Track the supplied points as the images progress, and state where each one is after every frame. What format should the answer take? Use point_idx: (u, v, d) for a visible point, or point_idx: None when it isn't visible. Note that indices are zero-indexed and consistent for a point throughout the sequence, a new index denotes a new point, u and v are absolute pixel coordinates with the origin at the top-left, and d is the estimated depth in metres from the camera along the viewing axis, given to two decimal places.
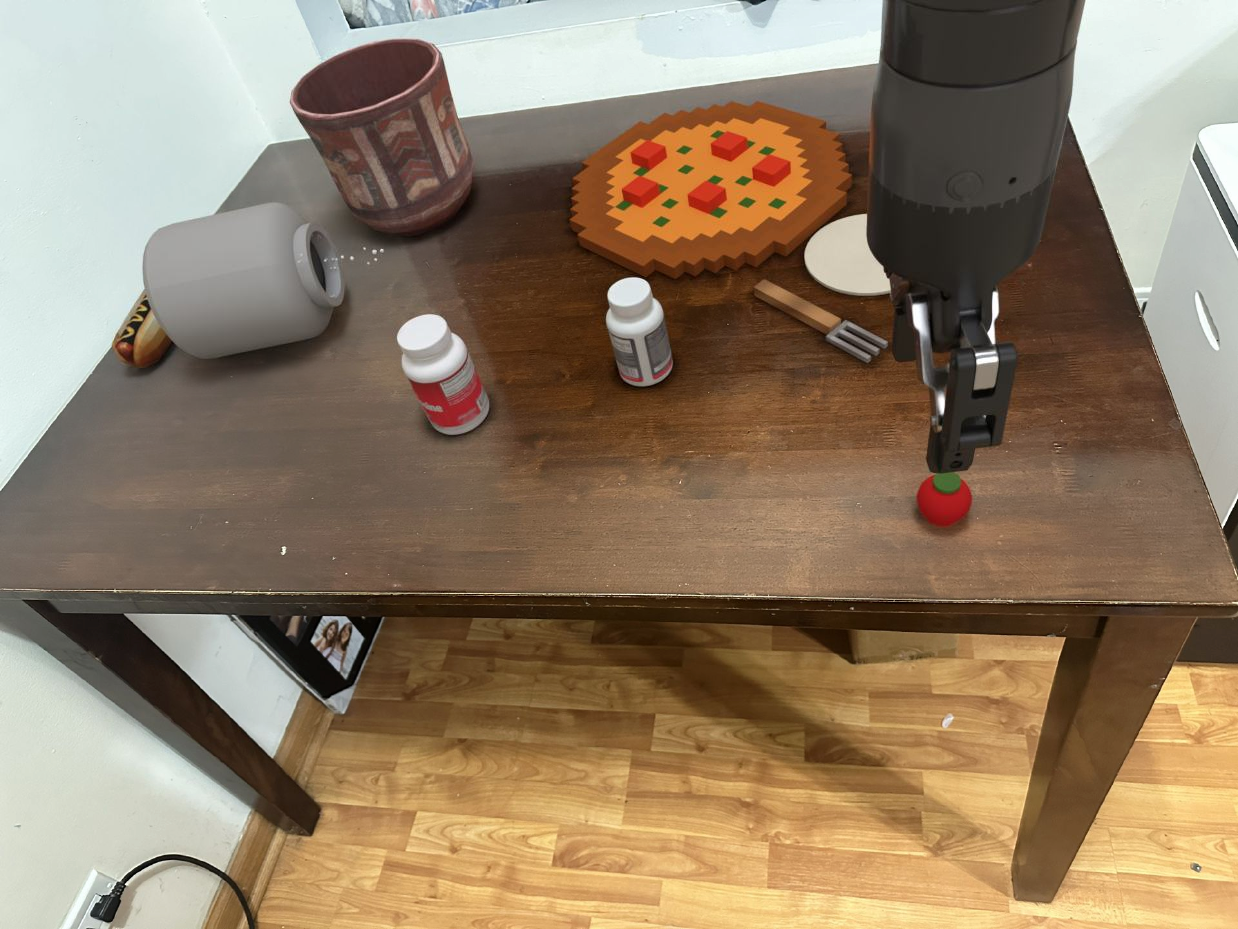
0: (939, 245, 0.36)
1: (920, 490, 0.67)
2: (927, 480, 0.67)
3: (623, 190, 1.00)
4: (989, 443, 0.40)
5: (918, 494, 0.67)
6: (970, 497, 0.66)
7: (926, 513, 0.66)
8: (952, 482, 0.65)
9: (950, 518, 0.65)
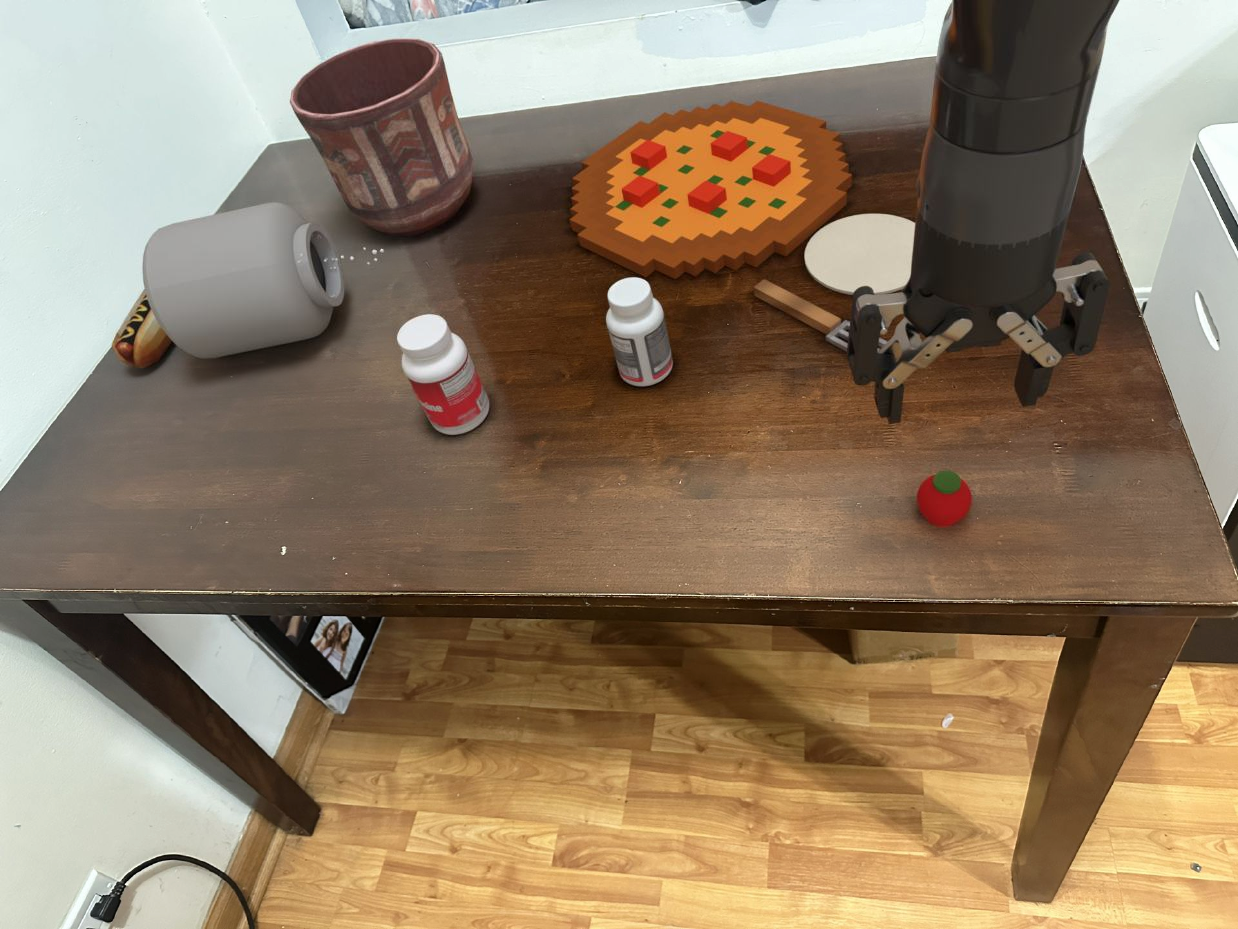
0: None
1: (920, 490, 0.67)
2: (927, 480, 0.67)
3: (623, 190, 1.00)
4: (852, 374, 0.54)
5: (918, 494, 0.67)
6: (970, 497, 0.66)
7: (926, 513, 0.66)
8: (952, 482, 0.65)
9: (950, 518, 0.65)
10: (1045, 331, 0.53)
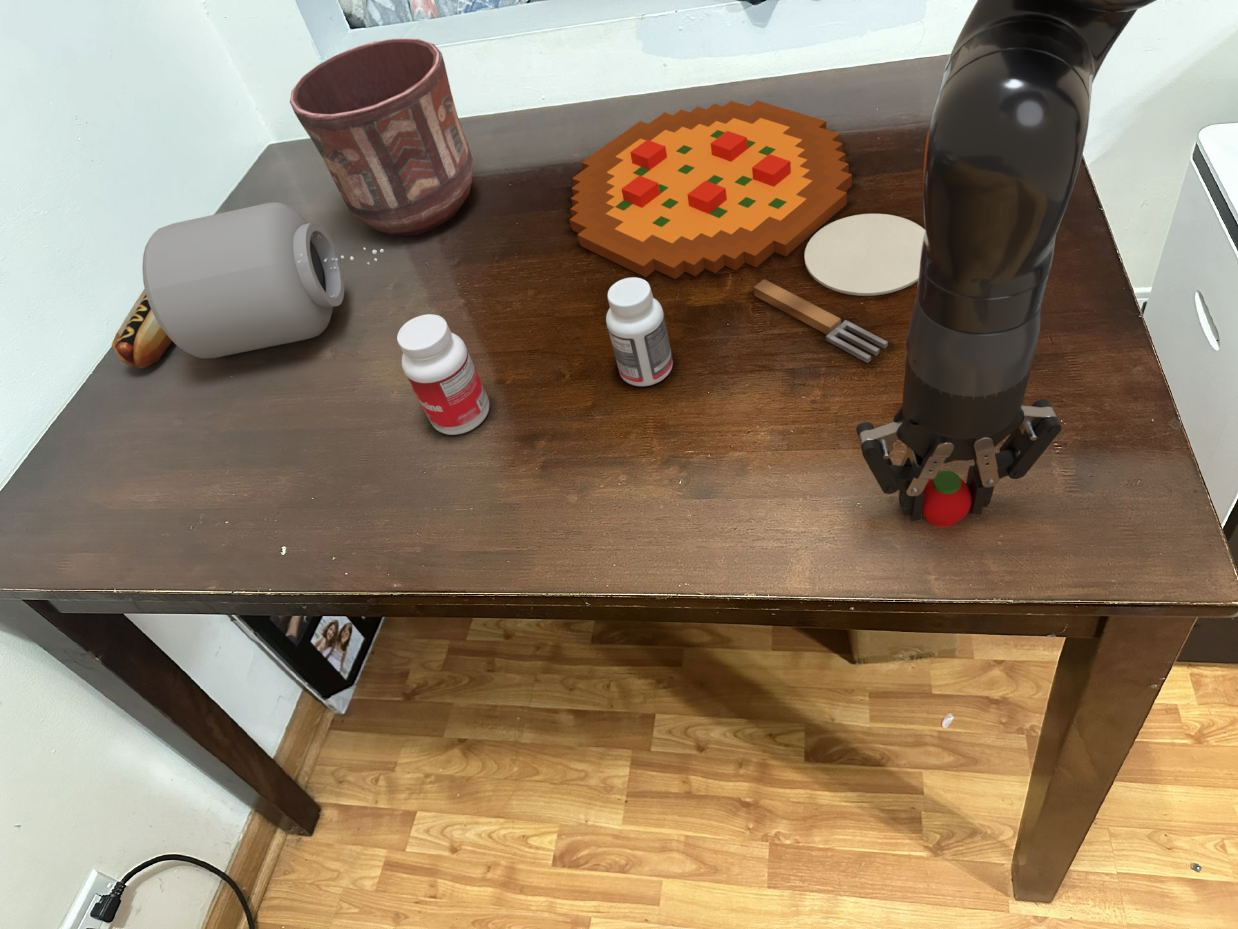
0: None
1: None
2: None
3: (623, 190, 1.00)
4: None
5: None
6: (970, 497, 0.66)
7: (926, 513, 0.66)
8: (952, 482, 0.65)
9: (950, 518, 0.65)
10: None
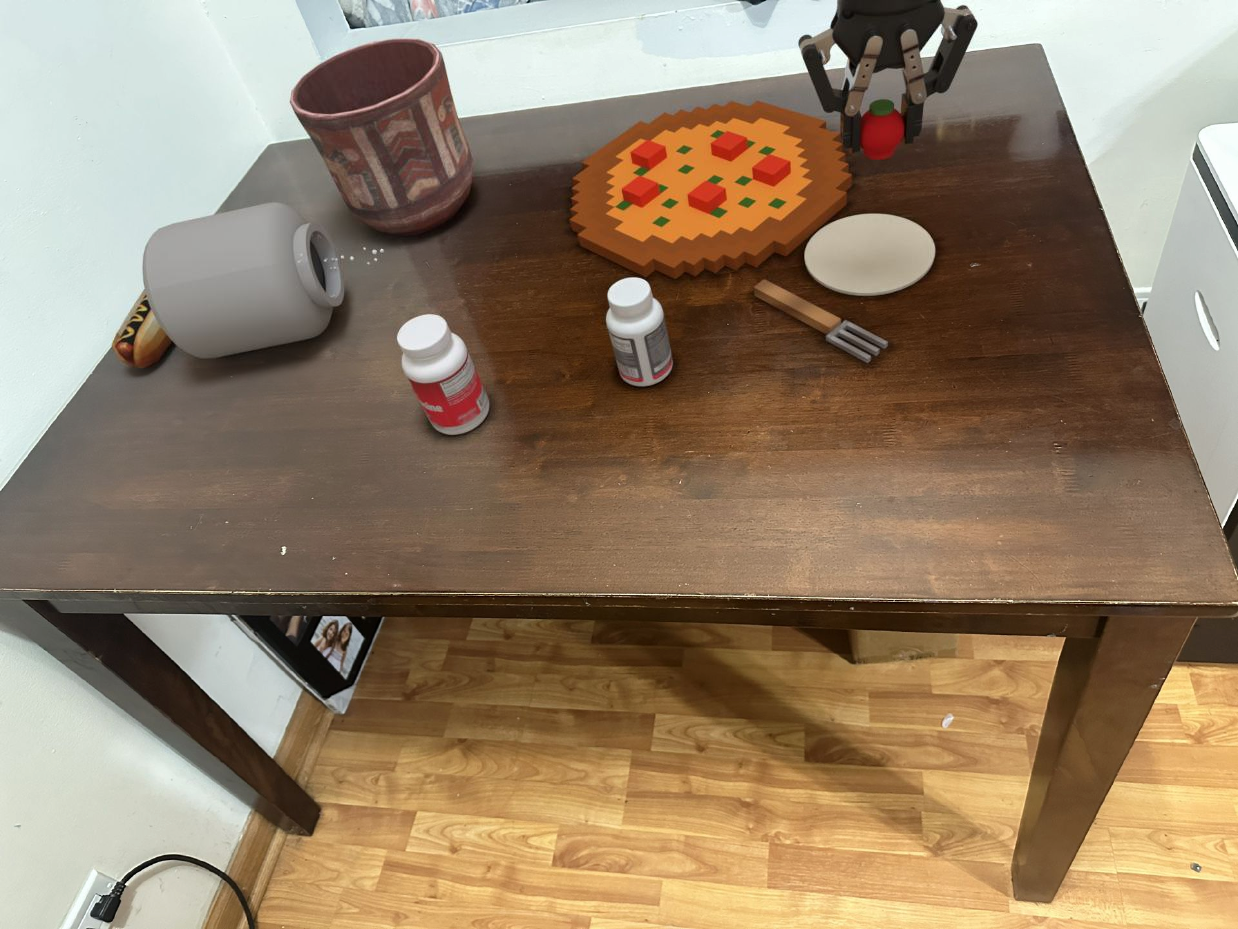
0: None
1: None
2: (865, 112, 0.74)
3: (623, 190, 1.00)
4: None
5: None
6: (903, 122, 0.73)
7: (863, 141, 0.74)
8: (886, 106, 0.72)
9: (885, 141, 0.73)
10: None
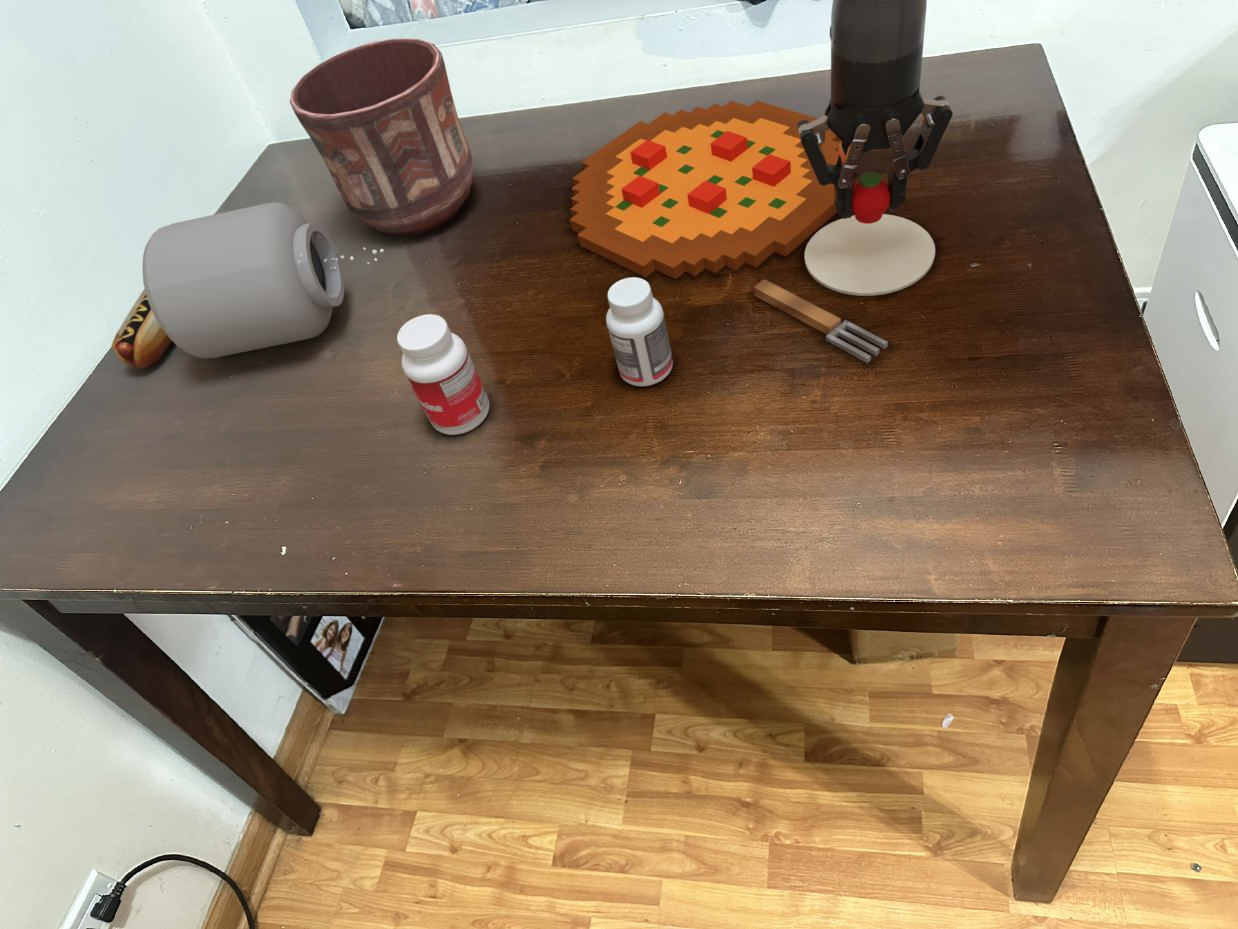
0: None
1: None
2: (856, 183, 0.84)
3: (623, 190, 1.00)
4: None
5: None
6: (889, 193, 0.83)
7: (854, 208, 0.84)
8: (874, 178, 0.82)
9: (873, 209, 0.83)
10: None
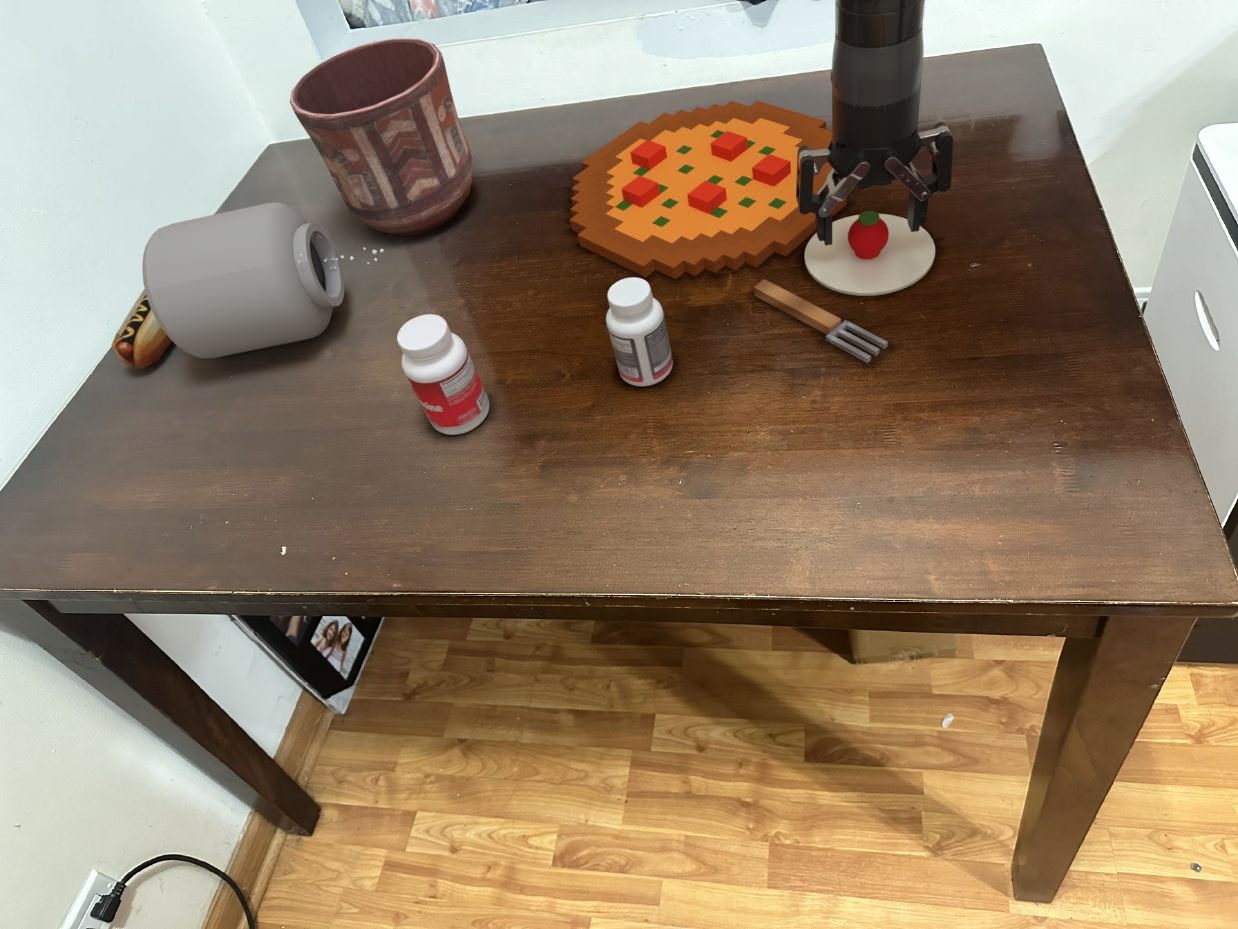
0: None
1: (850, 228, 0.88)
2: (855, 221, 0.87)
3: (623, 190, 1.00)
4: (799, 207, 0.84)
5: (848, 232, 0.88)
6: (887, 230, 0.86)
7: (854, 245, 0.87)
8: (872, 217, 0.86)
9: (871, 246, 0.86)
10: (921, 178, 0.84)
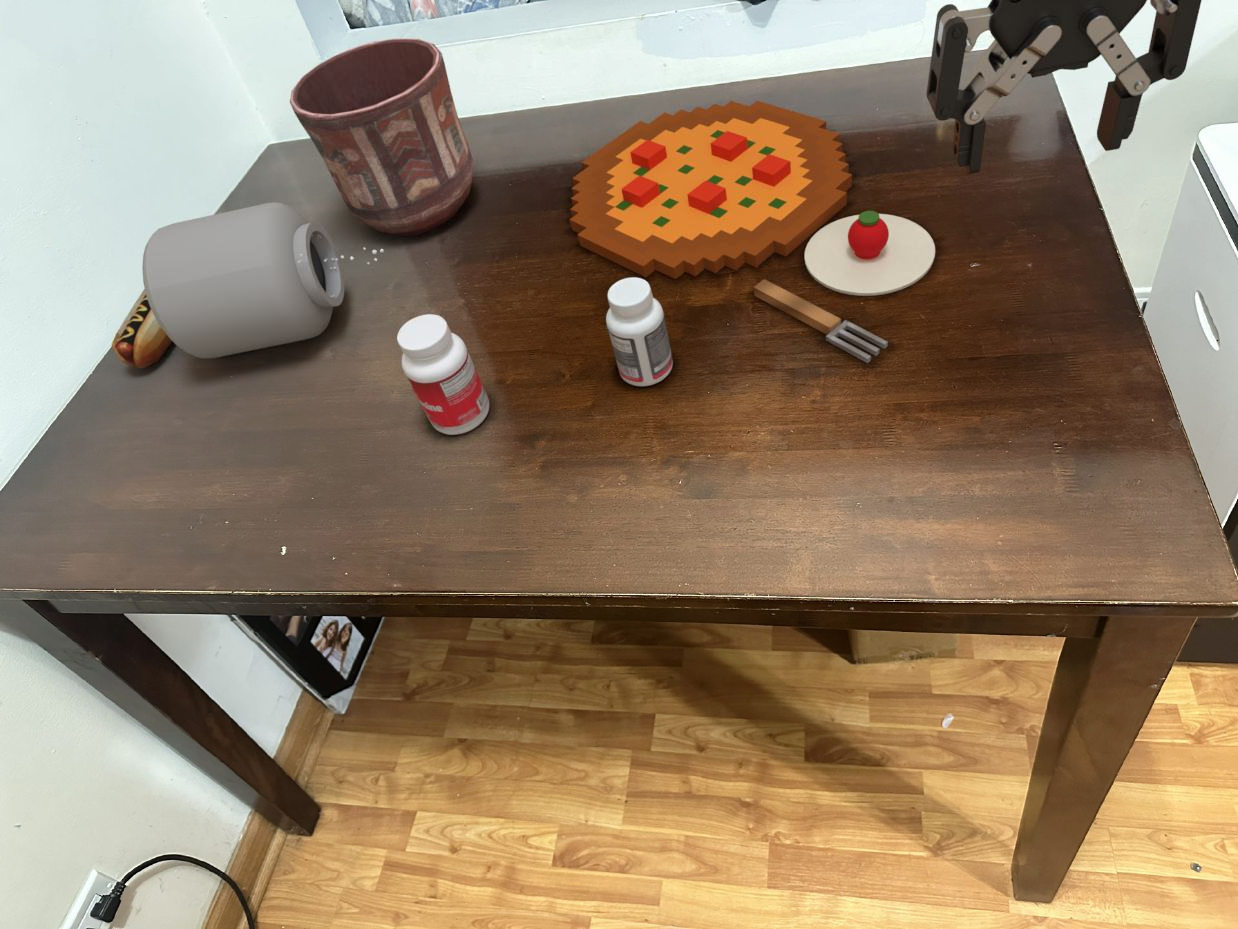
0: None
1: (850, 228, 0.88)
2: (855, 221, 0.87)
3: (623, 190, 1.00)
4: (933, 109, 0.54)
5: (848, 232, 0.88)
6: (887, 230, 0.86)
7: (854, 245, 0.87)
8: (872, 217, 0.86)
9: (871, 246, 0.86)
10: None
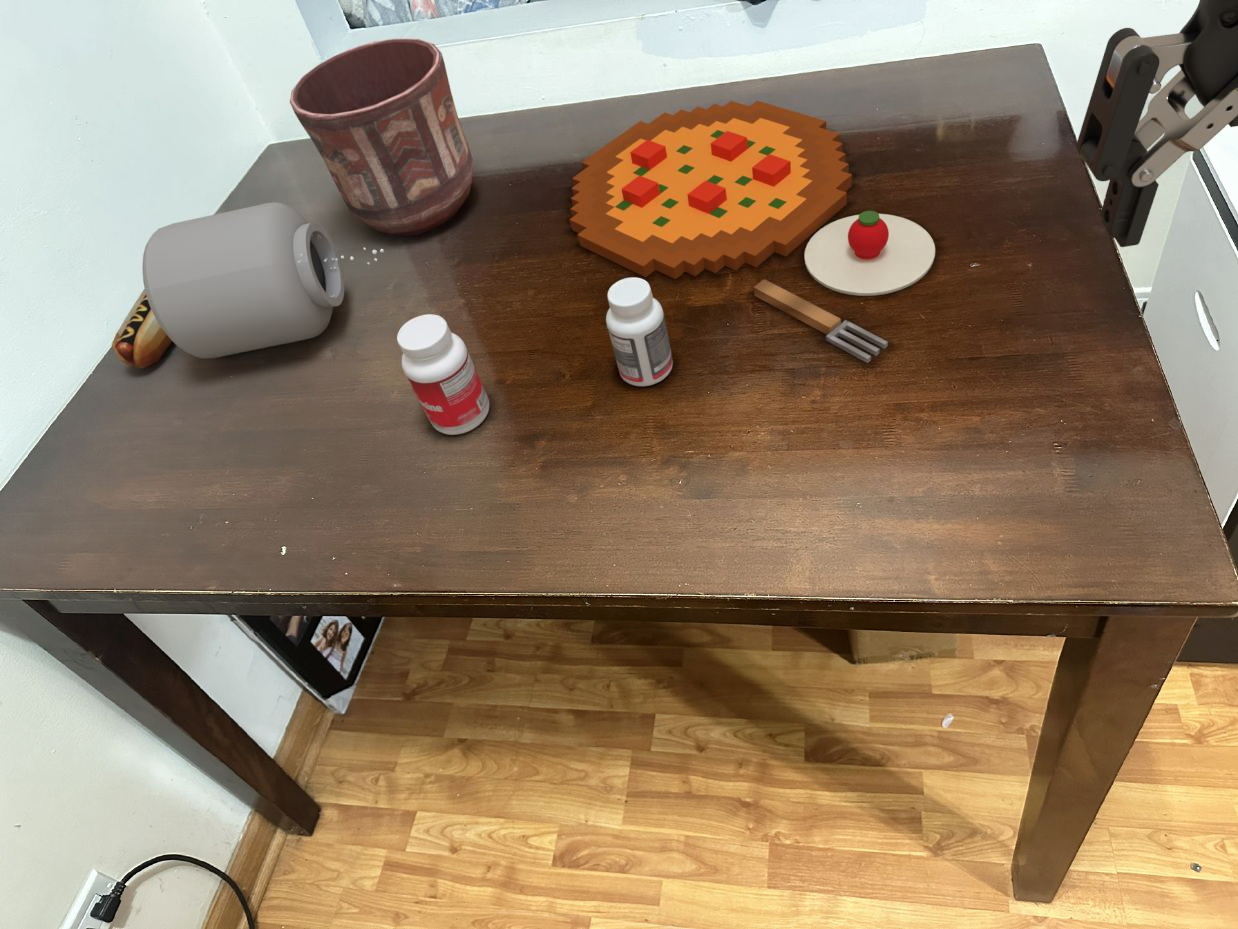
0: None
1: (850, 228, 0.88)
2: (855, 221, 0.87)
3: (623, 190, 1.00)
4: (1091, 166, 0.40)
5: (848, 232, 0.88)
6: (887, 230, 0.86)
7: (854, 245, 0.87)
8: (872, 217, 0.86)
9: (871, 246, 0.86)
10: None
